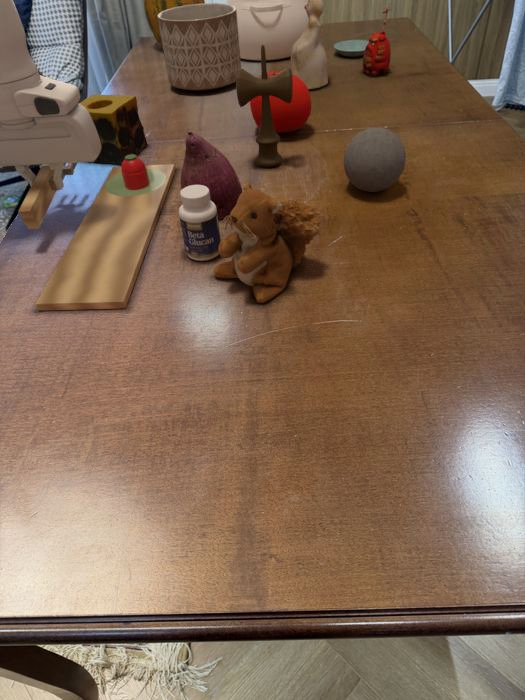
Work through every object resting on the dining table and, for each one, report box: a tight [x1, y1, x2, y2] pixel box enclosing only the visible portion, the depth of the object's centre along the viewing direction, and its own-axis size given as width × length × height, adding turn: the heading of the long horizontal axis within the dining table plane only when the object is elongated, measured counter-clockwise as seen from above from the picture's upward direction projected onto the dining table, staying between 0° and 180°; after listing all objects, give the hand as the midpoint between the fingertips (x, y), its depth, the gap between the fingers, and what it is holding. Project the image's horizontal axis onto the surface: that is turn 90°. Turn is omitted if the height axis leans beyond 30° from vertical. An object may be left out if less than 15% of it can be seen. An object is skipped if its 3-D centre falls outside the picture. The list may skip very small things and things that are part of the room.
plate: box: [105, 169, 166, 196], centre depth 92 cm, size 11×11×1 cm
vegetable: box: [180, 129, 243, 221], centre depth 80 cm, size 10×10×15 cm
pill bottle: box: [178, 185, 222, 262], centre depth 72 cm, size 5×5×10 cm
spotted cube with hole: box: [78, 94, 149, 165], centre depth 101 cm, size 10×10×10 cm
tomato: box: [249, 70, 312, 134], centre depth 104 cm, size 12×14×11 cm
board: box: [35, 163, 176, 312], centre depth 82 cm, size 12×42×1 cm, turn 178°
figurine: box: [289, 0, 330, 92], centre depth 123 cm, size 12×10×20 cm
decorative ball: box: [343, 126, 407, 193], centre depth 83 cm, size 10×10×10 cm
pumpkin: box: [143, 0, 206, 47], centre depth 156 cm, size 19×19×25 cm
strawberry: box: [120, 154, 149, 190], centre depth 89 cm, size 4×4×5 cm
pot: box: [226, 0, 309, 62], centre depth 148 cm, size 29×26×16 cm
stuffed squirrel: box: [212, 182, 324, 304], centre depth 66 cm, size 10×14×13 cm
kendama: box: [235, 45, 293, 168], centre depth 89 cm, size 6×10×20 cm, turn 86°
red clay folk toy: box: [362, 3, 392, 77], centre depth 127 cm, size 8×7×15 cm
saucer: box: [333, 39, 369, 58], centre depth 146 cm, size 12×12×2 cm
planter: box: [158, 2, 242, 92], centre depth 128 cm, size 19×19×16 cm
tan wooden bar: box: [17, 163, 78, 230], centre depth 80 cm, size 18×5×3 cm, turn 178°
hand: (48, 189), depth 81 cm, fingers closed on tan wooden bar, 2 cm apart
